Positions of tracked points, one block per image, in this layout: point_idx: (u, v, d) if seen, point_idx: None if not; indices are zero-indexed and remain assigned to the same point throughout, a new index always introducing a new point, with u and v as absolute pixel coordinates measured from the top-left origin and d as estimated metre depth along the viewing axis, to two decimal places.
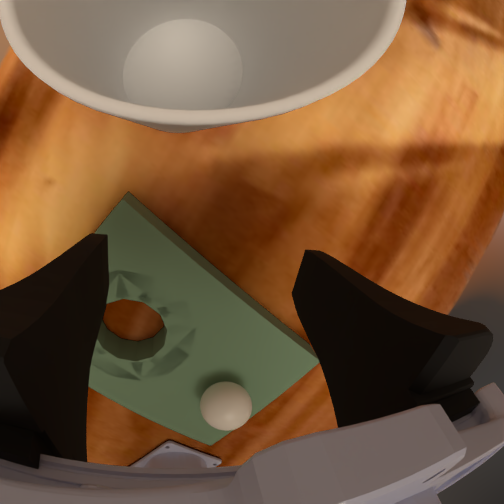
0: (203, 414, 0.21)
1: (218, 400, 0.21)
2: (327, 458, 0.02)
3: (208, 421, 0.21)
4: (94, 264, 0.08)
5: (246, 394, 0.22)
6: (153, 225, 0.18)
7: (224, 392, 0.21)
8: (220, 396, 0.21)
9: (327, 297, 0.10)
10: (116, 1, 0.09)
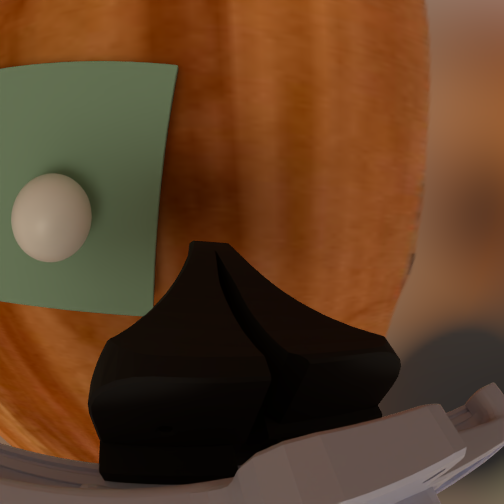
0: None
1: (12, 208, 0.11)
2: (327, 458, 0.02)
3: (26, 253, 0.11)
4: None
5: (54, 176, 0.11)
6: None
7: None
8: (15, 200, 0.11)
9: None
10: None
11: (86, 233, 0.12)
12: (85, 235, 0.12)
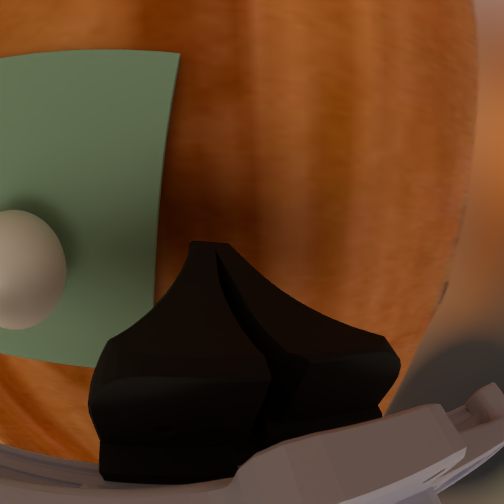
0: None
1: None
2: (327, 458, 0.02)
3: None
4: None
5: (10, 216, 0.07)
6: None
7: None
8: None
9: None
10: None
11: (59, 293, 0.09)
12: (58, 296, 0.09)
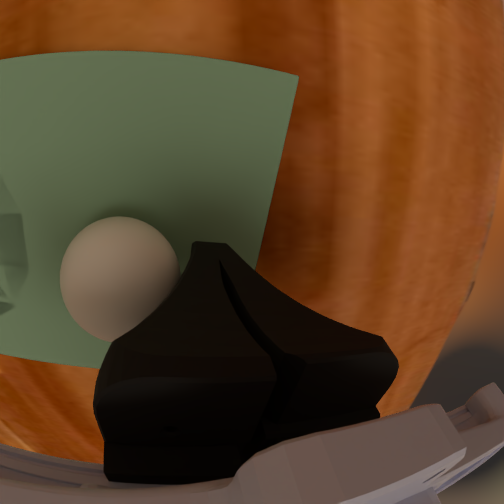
0: None
1: (61, 270, 0.08)
2: (327, 458, 0.02)
3: None
4: None
5: (128, 224, 0.09)
6: None
7: (70, 244, 0.08)
8: (64, 258, 0.08)
9: None
10: None
11: None
12: None
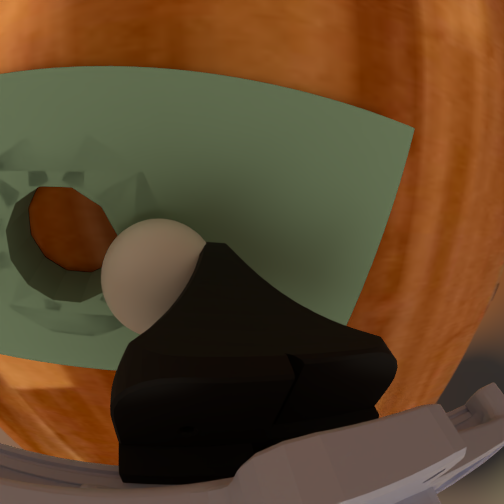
0: None
1: None
2: (327, 458, 0.02)
3: None
4: None
5: (160, 226, 0.09)
6: None
7: None
8: None
9: None
10: None
11: (106, 301, 0.09)
12: (106, 301, 0.09)
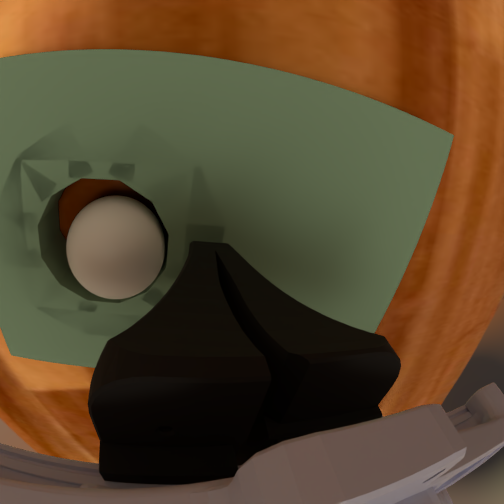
0: None
1: (159, 252, 0.11)
2: (327, 458, 0.02)
3: None
4: None
5: (114, 202, 0.10)
6: (23, 55, 0.07)
7: (146, 242, 0.10)
8: (153, 249, 0.11)
9: None
10: None
11: None
12: None
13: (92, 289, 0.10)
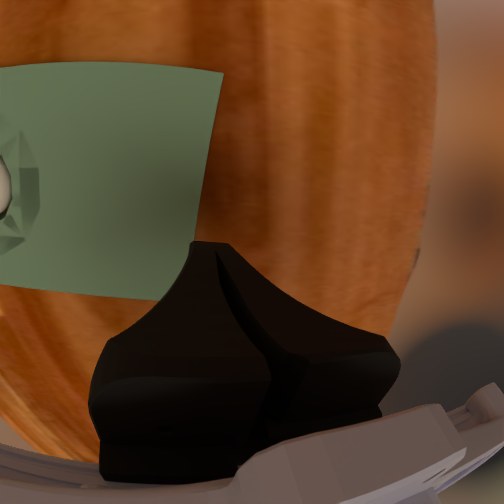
0: (3, 209, 0.14)
1: (1, 183, 0.13)
2: (327, 458, 0.02)
3: (8, 204, 0.15)
4: None
5: None
6: None
7: None
8: None
9: None
10: None
11: None
12: None
13: None
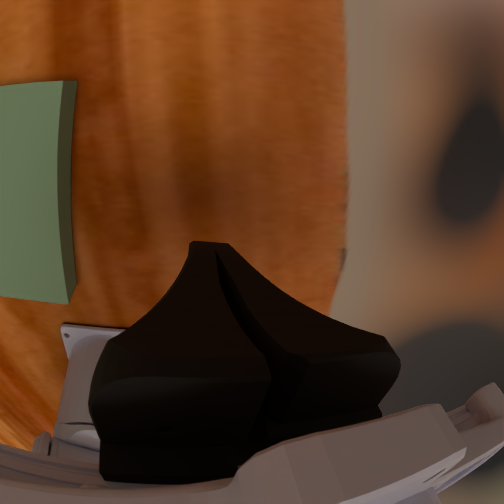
0: None
1: None
2: (327, 458, 0.02)
3: None
4: None
5: None
6: None
7: None
8: None
9: None
10: None
11: None
12: None
13: None
